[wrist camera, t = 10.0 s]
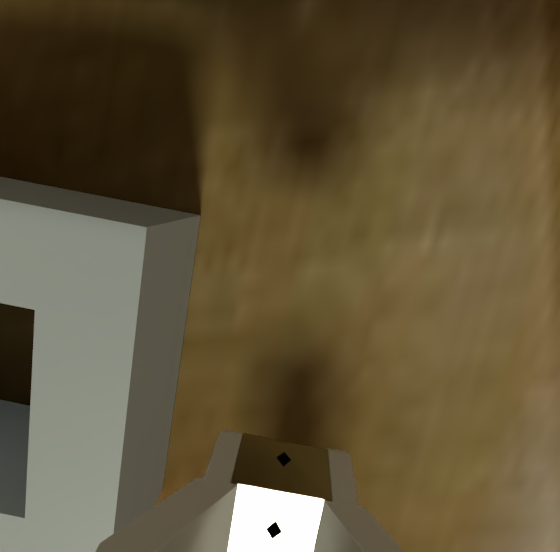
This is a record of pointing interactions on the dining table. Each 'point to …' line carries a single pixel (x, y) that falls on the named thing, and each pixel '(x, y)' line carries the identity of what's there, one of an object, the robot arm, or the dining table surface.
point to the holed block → (90, 361)
